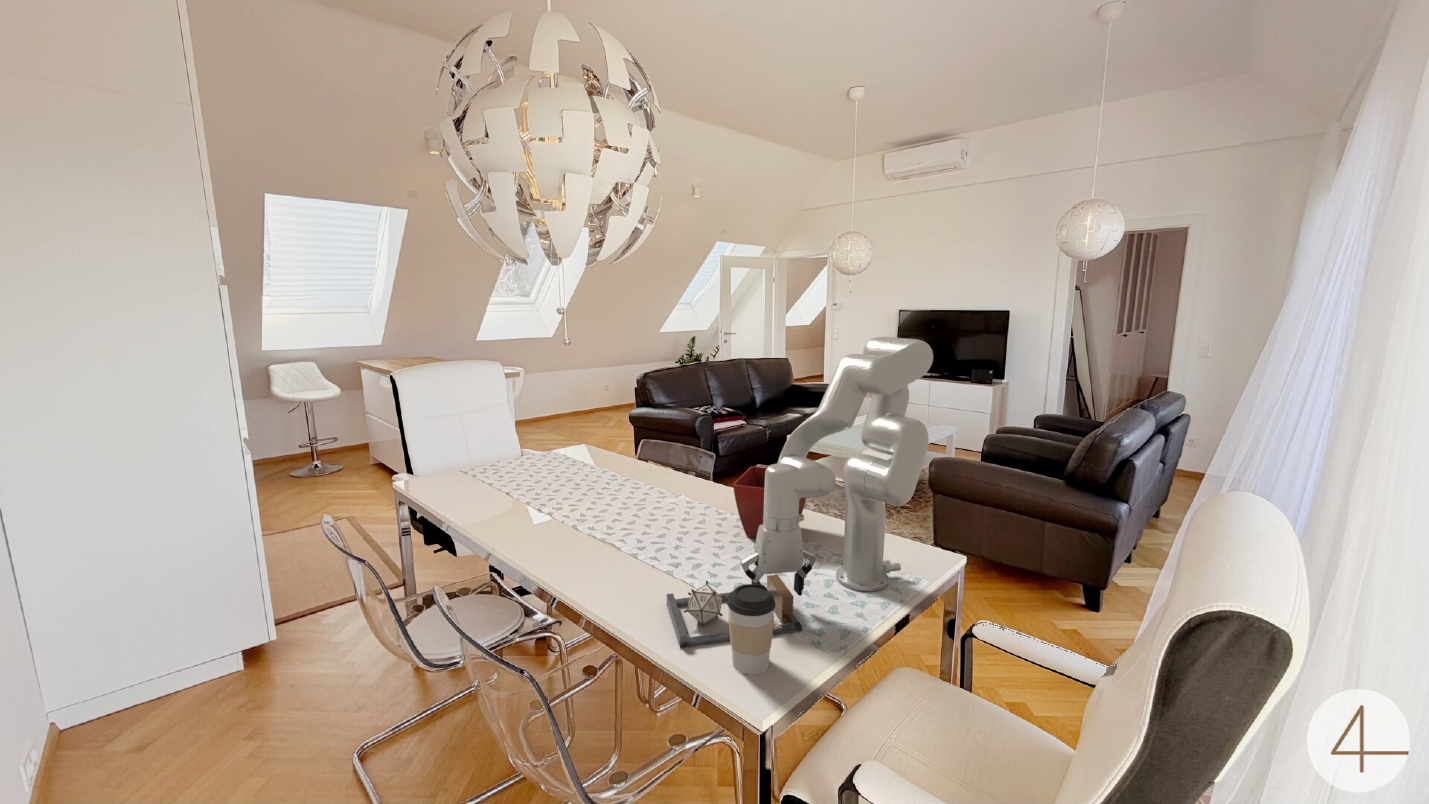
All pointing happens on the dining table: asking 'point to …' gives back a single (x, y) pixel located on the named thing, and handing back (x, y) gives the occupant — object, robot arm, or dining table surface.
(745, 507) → the plant pot
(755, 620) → the coffee cup
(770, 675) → the dining table surface
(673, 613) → the frame
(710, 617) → the game die
